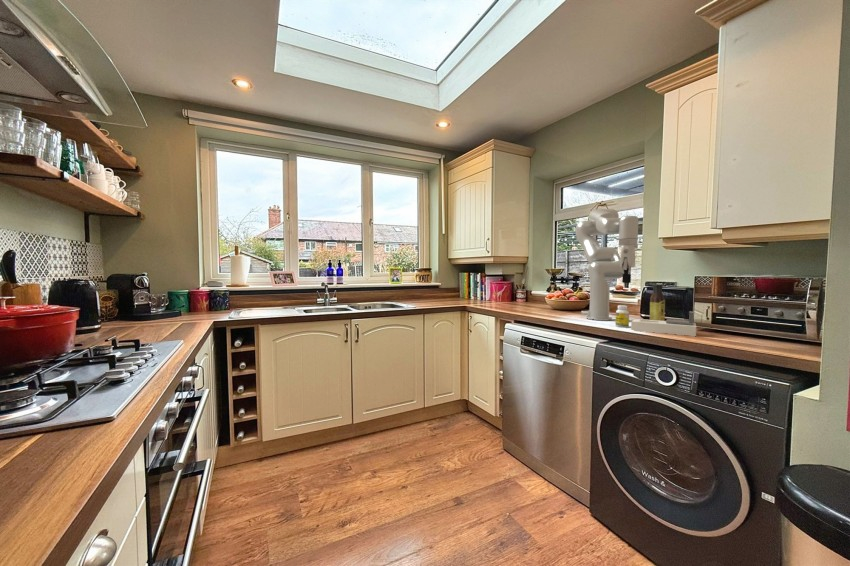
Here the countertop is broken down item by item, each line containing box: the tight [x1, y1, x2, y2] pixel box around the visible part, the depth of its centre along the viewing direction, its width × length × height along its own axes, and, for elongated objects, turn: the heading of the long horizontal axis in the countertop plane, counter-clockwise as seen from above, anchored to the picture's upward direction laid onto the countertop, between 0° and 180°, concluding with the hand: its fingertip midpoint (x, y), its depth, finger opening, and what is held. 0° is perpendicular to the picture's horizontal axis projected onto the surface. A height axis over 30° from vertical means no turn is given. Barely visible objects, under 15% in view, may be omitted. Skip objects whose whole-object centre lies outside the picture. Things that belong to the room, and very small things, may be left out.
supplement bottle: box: [615, 304, 630, 328], centre depth 160 cm, size 5×5×10 cm
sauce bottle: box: [649, 283, 666, 321], centre depth 171 cm, size 7×6×20 cm
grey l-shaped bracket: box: [665, 310, 695, 325], centre depth 142 cm, size 9×8×5 cm
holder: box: [630, 318, 697, 337], centre depth 146 cm, size 22×12×4 cm, turn 52°
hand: (626, 282), depth 158 cm, fingers closed
